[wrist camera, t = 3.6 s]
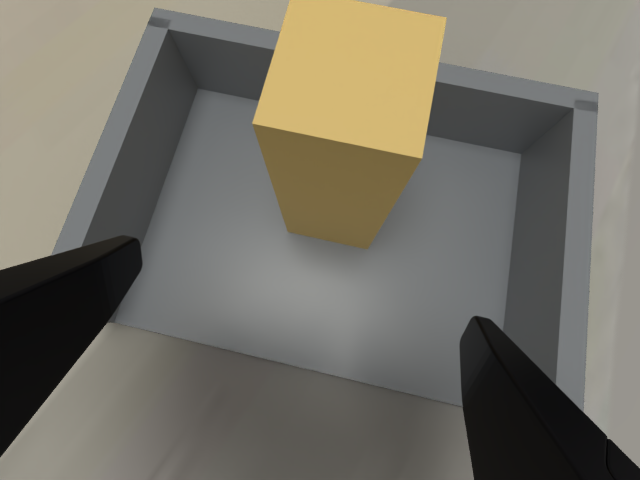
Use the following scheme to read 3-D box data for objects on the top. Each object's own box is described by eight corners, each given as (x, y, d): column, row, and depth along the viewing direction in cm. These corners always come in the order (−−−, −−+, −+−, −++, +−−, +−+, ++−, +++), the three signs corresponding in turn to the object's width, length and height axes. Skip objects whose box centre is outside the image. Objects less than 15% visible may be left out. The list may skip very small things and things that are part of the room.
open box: (507, 415, 21) (581, 449, 15) (104, 318, 22) (26, 314, 16) (532, 148, 25) (598, 92, 19) (191, 80, 26) (154, 7, 20)
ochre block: (367, 249, 22) (422, 158, 10) (287, 231, 22) (251, 123, 10) (382, 175, 23) (446, 17, 11) (306, 159, 23) (293, -11, 12)
